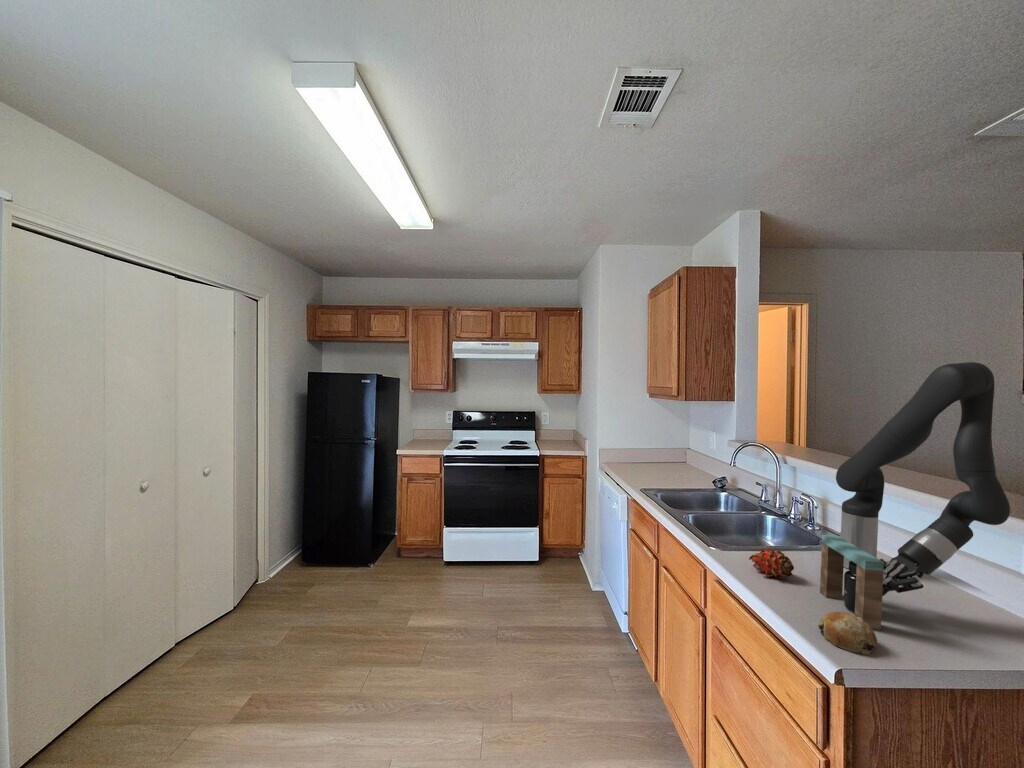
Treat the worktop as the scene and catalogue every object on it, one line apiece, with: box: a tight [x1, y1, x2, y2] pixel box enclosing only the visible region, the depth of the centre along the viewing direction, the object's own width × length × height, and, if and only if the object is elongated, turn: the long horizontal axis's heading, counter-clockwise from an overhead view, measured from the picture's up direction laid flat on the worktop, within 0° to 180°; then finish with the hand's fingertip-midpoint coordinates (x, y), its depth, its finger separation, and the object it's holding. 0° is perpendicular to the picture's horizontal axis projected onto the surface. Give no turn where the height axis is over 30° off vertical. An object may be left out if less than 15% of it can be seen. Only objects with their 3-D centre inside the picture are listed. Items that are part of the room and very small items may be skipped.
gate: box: [819, 534, 884, 631], centre depth 115 cm, size 18×4×16 cm, turn 173°
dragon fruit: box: [748, 547, 795, 579], centre depth 134 cm, size 8×8×12 cm
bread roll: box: [817, 611, 878, 656], centre depth 100 cm, size 10×10×8 cm
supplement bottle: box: [843, 561, 857, 614], centre depth 114 cm, size 7×7×12 cm
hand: (872, 595), depth 114 cm, fingers closed
